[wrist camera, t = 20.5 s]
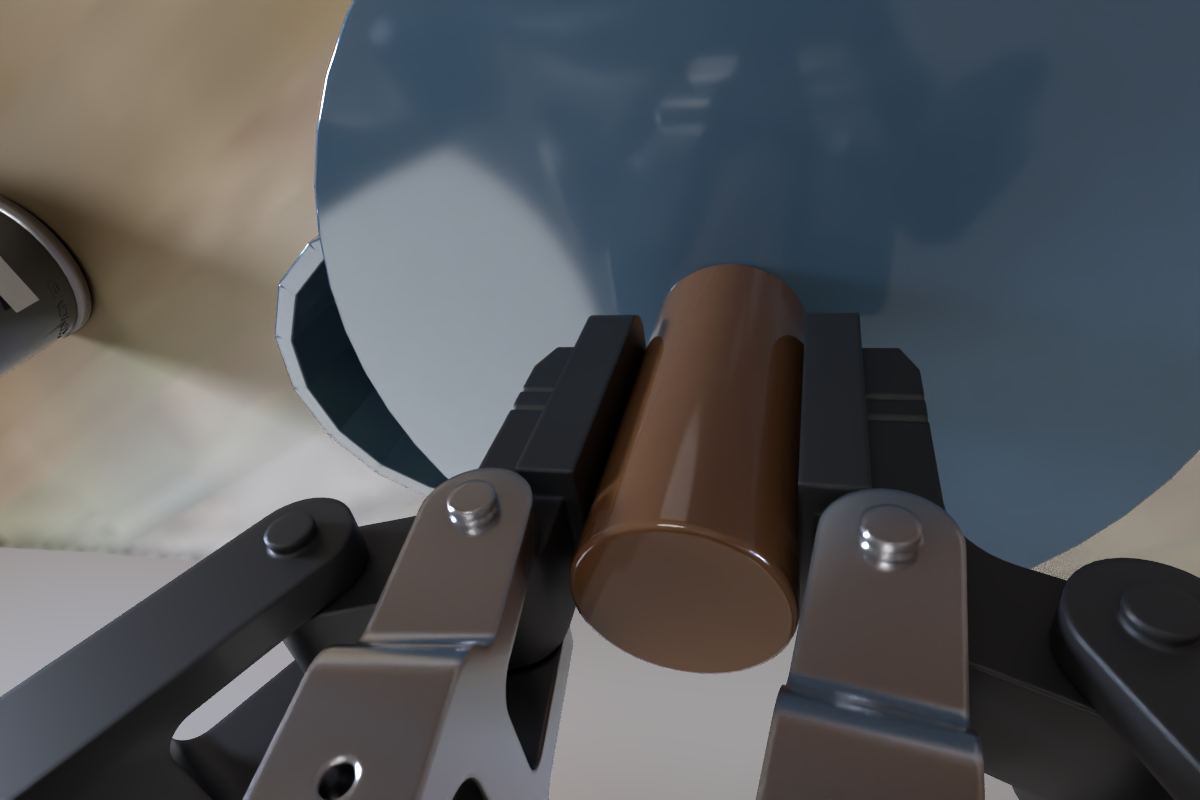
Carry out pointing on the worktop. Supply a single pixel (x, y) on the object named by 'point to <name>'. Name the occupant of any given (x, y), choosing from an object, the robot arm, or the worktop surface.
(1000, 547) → the lid
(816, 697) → the robot arm
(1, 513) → the worktop surface
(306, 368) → the pot
